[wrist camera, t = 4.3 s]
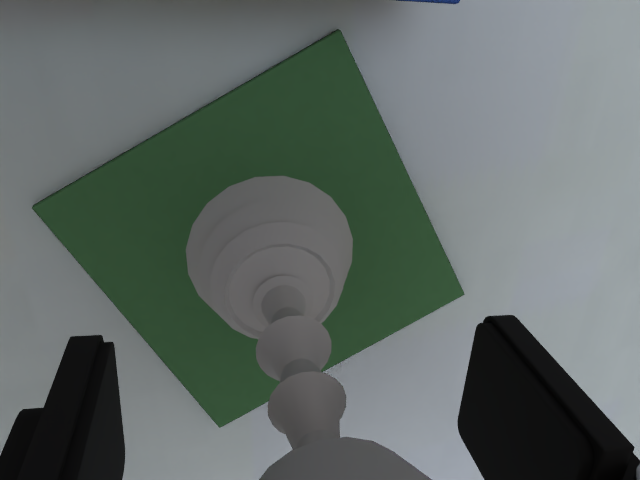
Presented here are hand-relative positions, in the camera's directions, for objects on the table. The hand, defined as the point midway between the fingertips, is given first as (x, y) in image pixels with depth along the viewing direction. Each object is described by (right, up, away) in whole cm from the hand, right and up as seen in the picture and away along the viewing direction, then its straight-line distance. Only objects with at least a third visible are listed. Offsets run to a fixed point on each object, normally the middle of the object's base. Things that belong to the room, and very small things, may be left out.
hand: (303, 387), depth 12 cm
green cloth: (-1, +3, +6) cm, 6 cm away
